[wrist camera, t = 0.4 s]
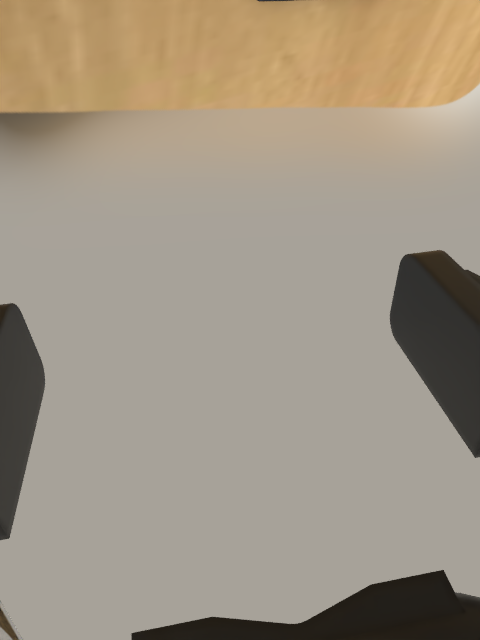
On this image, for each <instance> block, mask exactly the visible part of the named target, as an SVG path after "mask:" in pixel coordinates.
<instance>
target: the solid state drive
mask: <svg viewBox="0 0 480 640" xmlns="http://www.w3.org/2000/svg"><path fill="white" fill-rule="evenodd" d="M257 1H292V0H257Z"/></svg>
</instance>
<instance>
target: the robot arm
mask: <svg viewBox="0 0 480 640" xmlns="http://www.w3.org/2000/svg"><path fill="white" fill-rule="evenodd" d="M390 324H391V329H392V333H393V336H394V338H395V340H396V341H397V343H398V344H399V346H400V347H401V349H402V350H403V352H404V353H405V354H406V356H407V358H408V359H409V361H410V362H411V364H412V365H413V366H414V368H415V369H416V371H417V372H418V374H419V375H420V377H421V378H422V380H423V381H424V383H425V384H426V386H427V387H428V389H429V390H430V392H431V393H432V395H433V396H434V397H435V399H436V401H437V402H438V403H439V405H440V406H441V408H442V409H443V411H444V412H445V414H446V415H447V417H448V418H449V420H450V421H451V423H452V424H453V426H454V427H455V429H456V430H457V431H458V433H459V435H460V436H461V437H462V439H463V440H464V442H465V443H466V445H467V446H468V448H469V449H470V450H471V452H472V454H473V455H474V457H475V458H476V457H480V276H478V275H477V274H475V273H472V272H471V271H469V270H464V269H463V268H462V267H461V266H459V265H458V264H457V263H456V262H455V261H454V260H453V259H452V258H451V257H450V256H449V255H448V254H447V253H445V252H444V251H441V250H437V251H429V252H422V253H414V254H407V255H405V256H404V257H403V258H402V260H401V262H400V266H399V271H398V276H397V281H396V286H395V291H394V296H393V301H392V306H391V312H390ZM44 387H45V376H44V368H43V364H42V361H41V359H40V356H39V354H38V351H37V349H36V347H35V344H34V342H33V339H32V337H31V334H30V332H29V330H28V327H27V325H26V323H25V320H24V318H23V315H22V313H21V311H20V309H19V308H18V307H17V305H15V304H13V303H11V304H3V305H0V540H3V539H9V537H10V533H11V529H12V525H13V521H14V516H15V512H16V508H17V503H18V499H19V495H20V491H21V487H22V482H23V478H24V474H25V470H26V465H27V461H28V457H29V453H30V448H31V444H32V440H33V436H34V431H35V427H36V423H37V419H38V414H39V410H40V406H41V401H42V397H43V393H44ZM0 640H23V639H22V637H21V635H20V634H19V632H18V630H17V628H16V627H15V625H14V623H13V622H12V620H11V618H10V616H9V615H8V613H7V611H6V610H5V608H4V606H3V605H2V603H1V601H0ZM132 640H480V598H479V597H475V596H471V595H466V594H462V593H455V592H454V590H453V588H452V586H451V584H450V582H449V580H448V578H447V576H446V574H445V572H444V570H441V571H436V572H431V573H426V574H421V575H416V576H411V577H406V578H401V579H397V580H392V581H387V582H382V583H377V584H372V585H369V586H368V587H366V588H364V589H362V590H360V591H359V592H357V593H355V594H353V595H352V596H350V597H348V598H346V599H345V600H343V601H341V602H339V603H337V604H335V605H334V606H332V607H330V608H328V609H326V610H325V611H323V612H321V613H319V614H318V615H316V616H314V617H312V618H311V619H309V620H307V621H304V622H302V623H298V624H284V623H273V622H262V621H252V620H241V619H229V618H219V617H209V618H205V619H200V620H195V621H190V622H185V623H180V624H175V625H170V626H165V627H160V628H155V629H150V630H145V631H140V632H135V633H132Z"/></svg>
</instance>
